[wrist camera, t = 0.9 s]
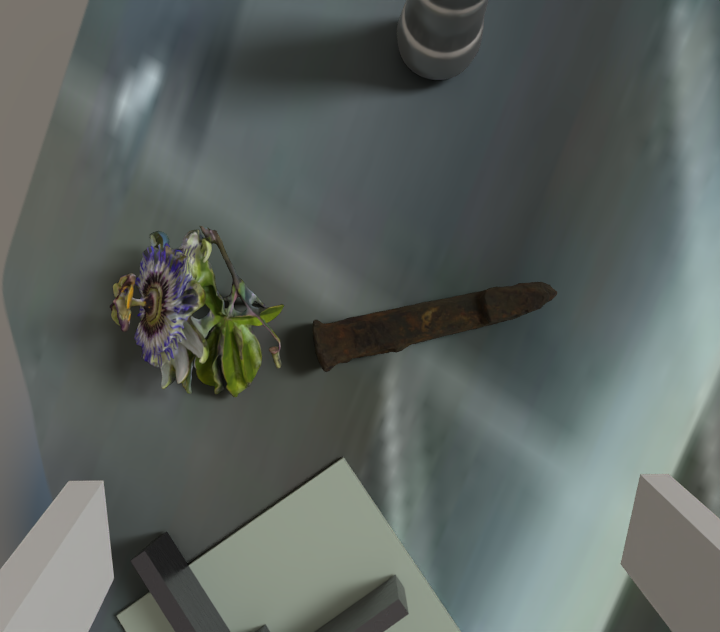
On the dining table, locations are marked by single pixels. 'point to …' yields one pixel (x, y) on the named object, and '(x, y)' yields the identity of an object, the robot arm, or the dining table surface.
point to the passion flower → (177, 325)
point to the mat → (305, 565)
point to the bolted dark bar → (372, 610)
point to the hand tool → (424, 322)
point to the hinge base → (178, 589)
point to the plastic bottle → (440, 36)
